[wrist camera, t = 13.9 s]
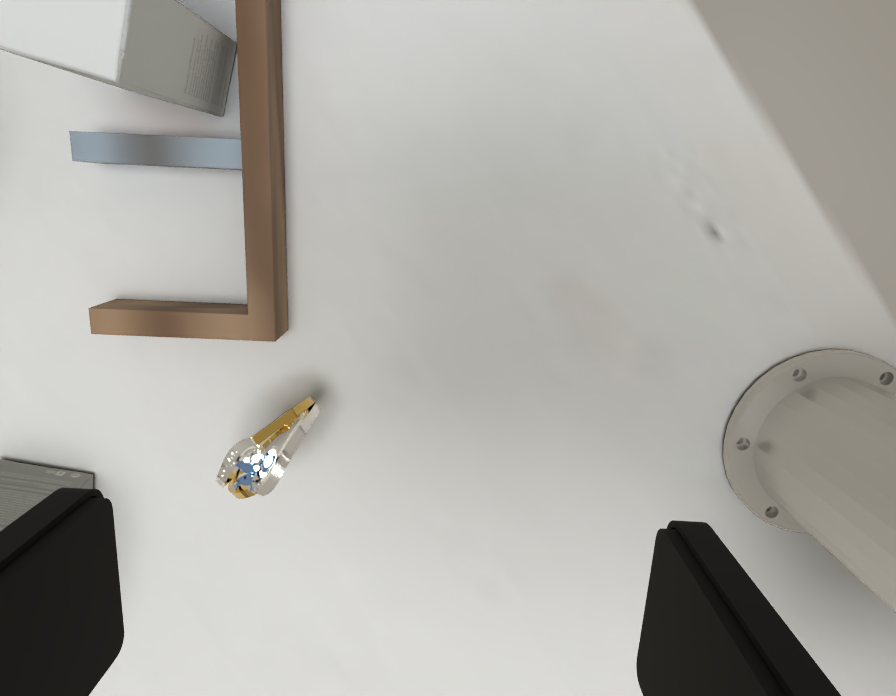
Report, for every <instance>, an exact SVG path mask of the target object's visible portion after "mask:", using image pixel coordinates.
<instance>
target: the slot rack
mask: <svg viewBox="0 0 896 696" xmlns="http://www.w3.org/2000/svg"><path fill="white" fill-rule="evenodd" d="M235 3H236V28H237V53H238V77H239V102H240V127H241V139H223V138H202V137H181V136H160V135H139V134H119V133H98V132H77V131H69V132H70V141H71V151H72V160H73V161H80V162H92V163H105V164H126V165H148V166H169V167H190V168H211V169H233V170H242V177H243V202H244V227H245V251H246V276H247V301H248V305H246V304H222V303H199V302H175V301H152V300H128V299H115V300H112V301H109V302H106V303H103V304H100V305H97V306H94V307H91V308H89V316H90V325H91V334H106V335H131V336H155V337H179V338H203V339H228V340H252V341H276V340H277V339H278V338H280V337H281V336H282V335H283V334H284V333H285V332H286V331H287V330H288V302H287V259H286V215H285V172H284V129H283V85H282V42H281V0H235Z"/></svg>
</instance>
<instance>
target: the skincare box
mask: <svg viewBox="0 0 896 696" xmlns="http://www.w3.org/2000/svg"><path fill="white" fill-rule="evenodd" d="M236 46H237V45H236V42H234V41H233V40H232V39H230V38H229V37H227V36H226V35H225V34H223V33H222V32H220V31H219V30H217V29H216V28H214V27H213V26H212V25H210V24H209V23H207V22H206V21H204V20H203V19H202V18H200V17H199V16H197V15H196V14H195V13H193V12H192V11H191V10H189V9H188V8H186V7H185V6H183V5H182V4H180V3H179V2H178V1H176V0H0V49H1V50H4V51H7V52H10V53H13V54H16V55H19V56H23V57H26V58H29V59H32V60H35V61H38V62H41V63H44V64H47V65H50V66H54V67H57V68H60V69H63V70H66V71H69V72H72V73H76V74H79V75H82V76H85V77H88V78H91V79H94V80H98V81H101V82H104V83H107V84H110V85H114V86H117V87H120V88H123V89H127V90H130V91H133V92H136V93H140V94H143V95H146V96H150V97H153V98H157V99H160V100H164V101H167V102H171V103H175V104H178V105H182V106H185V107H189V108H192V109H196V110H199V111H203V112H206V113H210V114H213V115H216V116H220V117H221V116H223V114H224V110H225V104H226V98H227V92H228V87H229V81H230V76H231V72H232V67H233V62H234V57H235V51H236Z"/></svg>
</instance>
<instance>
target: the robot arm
mask: <svg viewBox="0 0 896 696" xmlns="http://www.w3.org/2000/svg"><path fill="white" fill-rule="evenodd" d="M723 460H724V465H725V470H726V475H727V477H728V480H729V482H730V484H731V486H732V489H733V490H734V492H735V493H736V494H737V496H738V497H739V498H740V500H741V501H742V502H743V503H744V504H745V505H746V506H747V507H748V508H749V509H750V510H751V511H752V512H753V513H754V514H755V515H756V516H758V517H759V518H761V519H762V520H763V521H765V522H767V523H769V524H771V525H774V526H776V527H778V528H781V529H784V530H789V531H793V532H798V533H810V534H811V535H812V536H813V537H814V538H815V539H816V540H818V541H819V542H820V543H821V544H822V545H823V546H824V547H825V548H826V549H827V550H828V551H829V552H830V553H832V554H833V555H834V556H835V557H836V558H837V559H838V560H839V561H840V562H841V563H842V564H843V565H844V566H846V567H847V568H848V569H849V570H850V571H851V572H852V573H853V574H854V575H855V576H856V577H857V578H858V579H859V580H861V581H862V582H863V583H864V584H865V585H866V586H867V587H868V588H869V589H870V590H871V591H872V592H873V593H875V594H876V595H877V596H878V597H879V598H880V599H881V600H882V601H883V602H884V603H885V604H886V605H887V606H889V607H890V608H891V609H892V610H893V611H894V612H895V613H896V369H895V368H893V367H892V366H890V365H888V364H887V363H885V362H883V361H881V360H879V359H876V358H874V357H871V356H869V355H866V354H862V353H858V352H854V351H850V350H833V349H829V350H822V351H814V352H809V353H806V354H803V355H800V356H797V357H794V358H791V359H789V360H787V361H785V362H783V363H782V364H780V365H778V366H776V367H774V368H773V369H771V370H770V371H769V372H767V373H766V374H765V375H763V376H762V377H761V378H759V379H758V380H757V381H756V382H755V383H754V384H753V385H752V386H751V388H750V389H749V390H748V391H747V392H746V393H745V394H744V396H743V397H742V399H741V400H740V402H739V403H738V405H737V406H736V408H735V409H734V412H733V414H732V416H731V418H730V421H729V423H728V425H727V430H726V434H725V439H724V451H723ZM123 639H124V625H123V614H122V604H121V593H120V582H119V572H118V561H117V550H116V540H115V529H114V518H113V508H112V503H111V502H110V500H109V499H107V498H104V497H103V495H102V493H101V492H100V491H99V490H97V489H83V488H59V489H57V490H56V491H54V492H53V493H51V494H50V495H49V496H47V497H46V498H45V499H43V500H42V501H41V502H39V503H38V504H37V505H35V506H34V507H32V508H31V509H30V510H28V511H27V512H26V513H24V514H23V515H22V516H20V517H19V518H18V519H16V520H15V521H13V522H12V523H11V524H9V525H8V526H7V527H5V528H4V529H3V530H1V531H0V696H89V694H90V693H91V691H92V690H93V689H94V687H95V686H96V685H97V683H98V682H99V681H100V679H101V678H102V677H103V675H104V674H105V672H106V671H107V670H108V668H109V667H110V666H111V664H112V663H113V662H114V660H115V659H116V657H117V656H118V654H119V652H120V650H121V647H122V644H123ZM637 677H638V682H639V685H640V688H641V691H642V693H643V696H841V695H840V694H839V692H838V691H837V690H836V688H835V687H834V686H833V685H832V683H831V682H830V681H829V679H828V678H827V677H826V675H825V674H824V673H823V672H822V670H821V669H820V668H819V666H818V665H817V664H816V663H815V661H814V660H813V659H812V657H811V656H810V655H809V653H808V652H807V651H806V650H805V648H804V647H803V646H802V644H801V643H800V642H799V641H798V639H797V638H796V637H795V635H794V634H793V633H792V631H791V630H790V629H789V628H788V626H787V625H786V624H785V622H784V621H783V620H782V619H781V617H780V616H779V615H778V613H777V612H776V611H775V610H774V608H773V607H772V606H771V604H770V603H769V602H768V600H767V599H766V598H765V597H764V595H763V594H762V593H761V591H760V590H759V589H758V588H757V586H756V585H755V584H754V582H753V581H752V580H751V578H750V577H749V576H748V575H747V573H746V572H745V571H744V569H743V568H742V567H741V566H740V564H739V563H738V562H737V560H736V559H735V558H734V556H733V555H732V554H731V553H730V551H729V550H728V549H727V547H726V546H725V545H724V544H723V542H722V541H721V540H720V538H719V537H718V536H717V534H716V533H715V532H714V531H713V529H712V528H711V527H710V526H709V525H708V524H707V523H704V522H688V521H671V522H670V523H669V524H668V526H667V529H659V530H658V532H657V536H656V541H655V547H654V554H653V560H652V566H651V573H650V579H649V586H648V592H647V598H646V605H645V611H644V617H643V624H642V630H641V637H640V643H639V649H638V656H637Z"/></svg>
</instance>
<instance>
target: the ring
mask: <svg viewBox="0 0 896 696" xmlns="http://www.w3.org/2000/svg"><path fill="white" fill-rule="evenodd" d="M319 412H320V408H319V406H318V405H317V404H316V403H315V401H314V400H313V399H312V398H311V397H310V396H309V397H308V398H306V399H305V400H303V401H302V402H301V403H299V404H298V405H296V406H295V407H294V408H292V409H291V410H289V411H288V412H285V413H284V414H282V415H281V416H280V417H278V418H277V420H275V421H274V422H272V423H271V424H269V425H268V426H267V427H265V428H264V429H262V430H261V431H260V432H258V433H257V434H255V435H254V436H253V437H251V438H250V439H245V440H242V441H240V442H238V443H237V444H236V445H234V446H233V447H232V448H231V449H230V451H229V452H228V453H227V455H226V457H225V459H224V461H223V463H222V466H221V468H220V470H219V473H218V475H217V478H216V480H215V481H216V482H217V483H218V484H219V485H220V486H221V487H222V488H223V487H224V486H226V485H227V484H228V483H229V485H228V490H229V492H230V493H232V494H233V495H234V496H235V497H236V498H238V499H244V498H248V497H250V496H253V495H255V494H258V495H261V496H264V495H267V494H269V493H270V492H271V491H272V490H273V489H274V488H275V486H276V485H277V483H278V482H279V480H280V478H281V476H282V474H283V472H284V470H285V468H286V466H287V465H288V463H289V461H290V459H291V457H292V455H293V454H294V452H295V450H296V449H297V447H298V445H299V444H300V442H301V441H302V439H303V437H304V436H305V434H306V433H307V431H308V430H309V428H310V427H311V425H312V424H313V422H314V421H315V419H316V418H317V416H318V414H319ZM299 419H300V420H299ZM298 420H299V422H298V423H297V424H296V426H295V427H294V429H293V430H292V432H291V433H290V435H289V436H288V438H287V440H286V441H285V443H284V445H283V446H282V448H281V450H280V452H279V453H278V455H277V451H278V449H277V446H276V445H274V446H272V447H271V448H270V450H269V451H267V453H266V454H264V453H265V449H264V448H265V447H266V446H267V445H268V444H269V443H270V442H271V441H273V440H274V439H275V438H276V437H277V436H278V435H279V434H281V433H284V432H285V431H287V430H288V429H289V428H290V427H291V426H292V424H294V423H295V422H296V421H298ZM270 468H271V469H270ZM269 469H270V471H269ZM268 471H269V473H268ZM267 473H268V475H267ZM266 475H267V476H266ZM264 476H266V478H265V479H264V480H263V481H262V482H260V481H261V479H262V477H264Z"/></svg>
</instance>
